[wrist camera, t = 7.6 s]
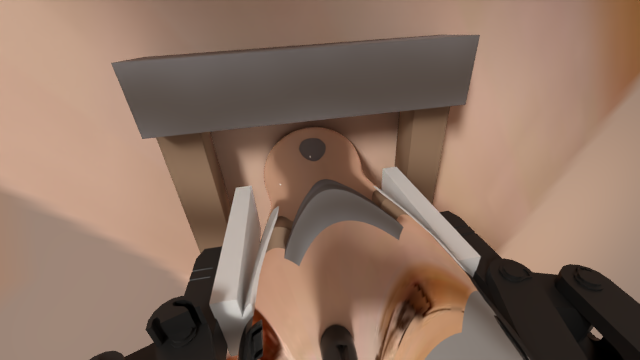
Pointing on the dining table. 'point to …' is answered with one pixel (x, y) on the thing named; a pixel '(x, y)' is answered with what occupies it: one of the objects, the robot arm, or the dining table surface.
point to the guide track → (293, 105)
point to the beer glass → (357, 271)
